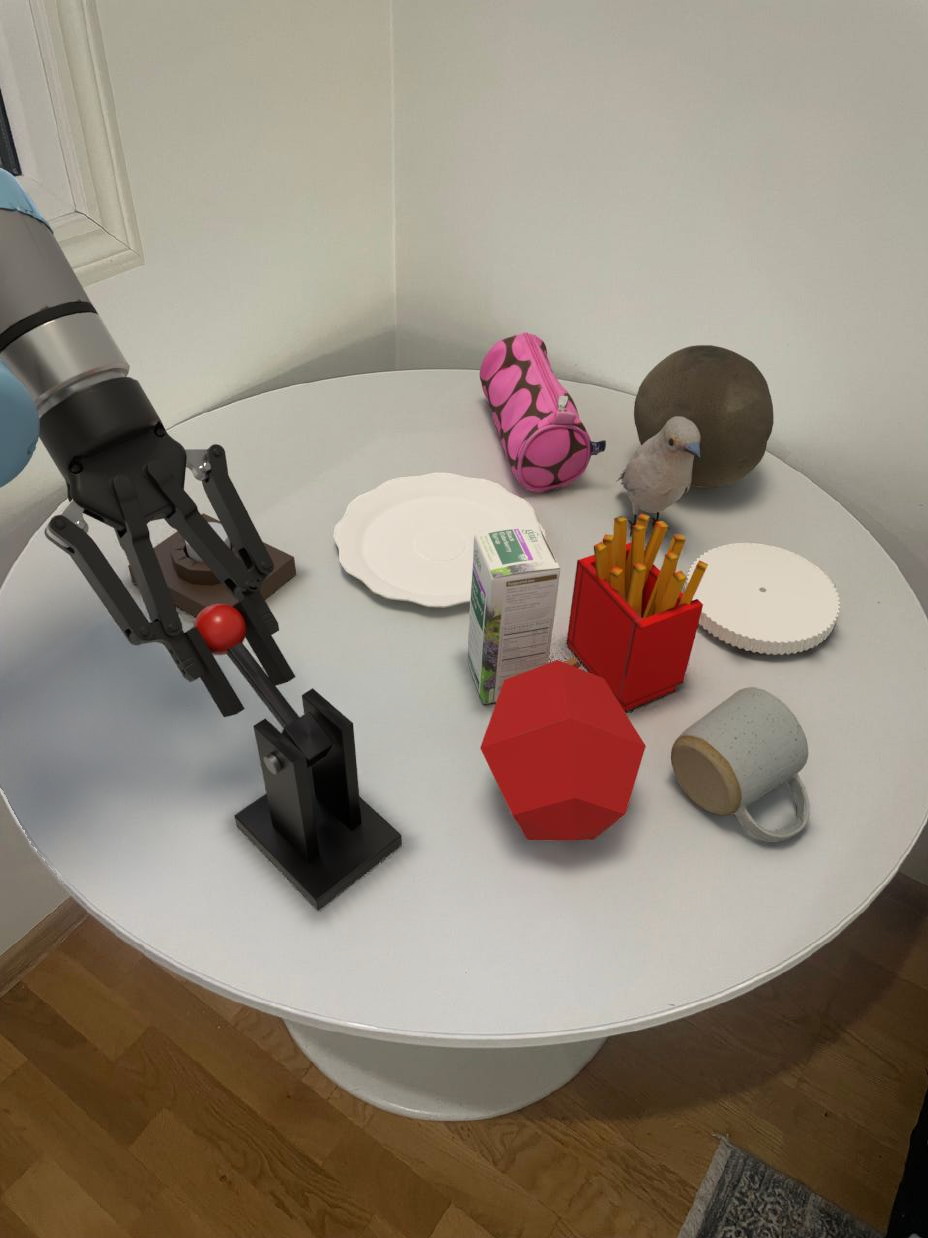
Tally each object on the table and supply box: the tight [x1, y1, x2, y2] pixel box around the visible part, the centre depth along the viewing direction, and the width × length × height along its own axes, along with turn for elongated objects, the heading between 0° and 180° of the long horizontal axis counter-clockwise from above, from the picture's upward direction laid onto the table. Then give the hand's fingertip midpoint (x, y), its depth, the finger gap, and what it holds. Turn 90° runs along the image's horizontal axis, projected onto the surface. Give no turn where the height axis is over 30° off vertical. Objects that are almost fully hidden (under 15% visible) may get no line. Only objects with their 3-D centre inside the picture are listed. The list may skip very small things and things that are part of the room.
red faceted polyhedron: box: [479, 656, 647, 842], centre depth 74 cm, size 12×12×15 cm
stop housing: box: [127, 512, 297, 618], centre depth 94 cm, size 12×10×4 cm
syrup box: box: [467, 526, 561, 705], centre depth 82 cm, size 6×6×14 cm
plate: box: [332, 471, 547, 609], centre depth 100 cm, size 21×21×2 cm
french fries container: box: [566, 512, 708, 713], centre depth 84 cm, size 7×9×14 cm
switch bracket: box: [233, 687, 403, 911], centre depth 71 cm, size 10×8×13 cm
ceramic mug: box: [670, 686, 811, 843], centre depth 76 cm, size 11×8×8 cm
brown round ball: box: [633, 344, 775, 489], centre depth 104 cm, size 14×14×15 cm
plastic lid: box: [683, 541, 841, 656], centre depth 93 cm, size 14×14×2 cm
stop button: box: [185, 522, 231, 562], centre depth 93 cm, size 4×4×2 cm
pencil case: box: [479, 332, 607, 493], centre depth 111 cm, size 21×10×10 cm, turn 13°
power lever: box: [192, 604, 334, 768], centre depth 68 cm, size 13×4×4 cm, turn 44°
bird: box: [615, 416, 701, 538], centre depth 98 cm, size 5×14×15 cm, turn 17°
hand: (259, 696), depth 70 cm, fingers closed on power lever, 4 cm apart
